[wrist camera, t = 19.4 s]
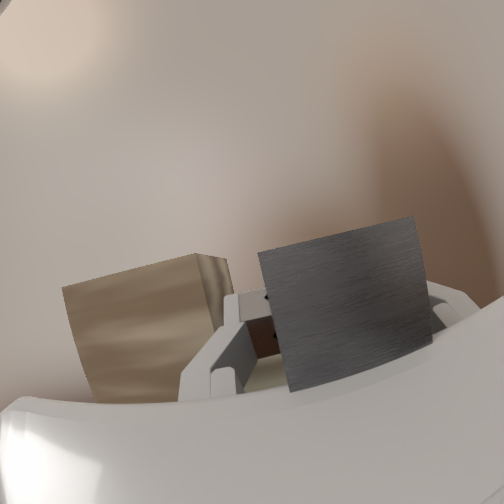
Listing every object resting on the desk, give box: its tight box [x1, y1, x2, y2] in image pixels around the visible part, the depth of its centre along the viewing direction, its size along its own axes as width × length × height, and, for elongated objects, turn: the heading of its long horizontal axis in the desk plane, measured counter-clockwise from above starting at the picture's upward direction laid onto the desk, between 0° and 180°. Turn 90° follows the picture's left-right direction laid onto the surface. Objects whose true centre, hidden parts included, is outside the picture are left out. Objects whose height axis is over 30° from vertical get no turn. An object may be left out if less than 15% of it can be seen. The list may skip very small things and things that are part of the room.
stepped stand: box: [62, 253, 288, 404], centre depth 19 cm, size 12×18×24 cm, turn 88°
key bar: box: [258, 216, 433, 393], centre depth 14 cm, size 19×3×4 cm, turn 178°
